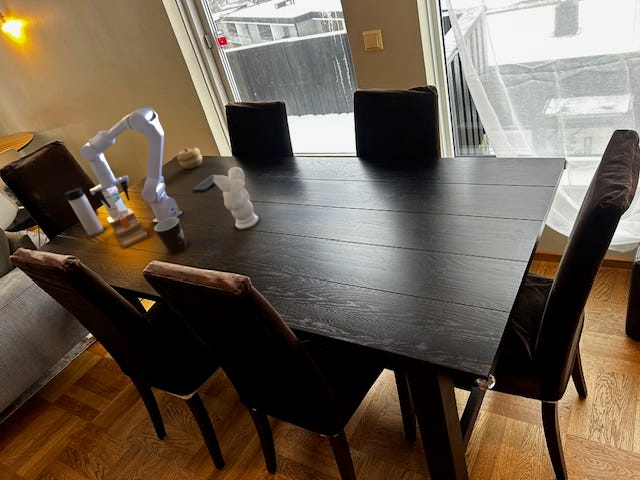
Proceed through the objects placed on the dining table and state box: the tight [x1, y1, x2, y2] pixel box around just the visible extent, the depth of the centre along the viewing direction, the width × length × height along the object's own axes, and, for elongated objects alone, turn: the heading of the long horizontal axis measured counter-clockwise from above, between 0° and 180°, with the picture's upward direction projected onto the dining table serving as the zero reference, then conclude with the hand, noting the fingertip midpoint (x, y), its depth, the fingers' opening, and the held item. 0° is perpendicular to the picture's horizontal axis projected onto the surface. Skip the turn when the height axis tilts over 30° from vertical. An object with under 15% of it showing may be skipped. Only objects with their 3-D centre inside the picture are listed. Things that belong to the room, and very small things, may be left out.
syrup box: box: [100, 185, 129, 217], centre depth 191 cm, size 6×6×14 cm
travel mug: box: [64, 187, 105, 237], centre depth 181 cm, size 6×7×20 cm
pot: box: [176, 147, 203, 170], centre depth 225 cm, size 12×12×10 cm
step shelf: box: [106, 207, 149, 249], centre depth 175 cm, size 20×10×6 cm, turn 34°
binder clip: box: [118, 213, 130, 229], centre depth 173 cm, size 4×2×5 cm, turn 34°
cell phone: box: [193, 174, 221, 191], centre depth 203 cm, size 7×14×1 cm, turn 150°
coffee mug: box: [153, 217, 188, 255], centre depth 156 cm, size 12×9×10 cm
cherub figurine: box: [213, 166, 259, 230], centre depth 155 cm, size 12×12×22 cm
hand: (119, 203), depth 180 cm, fingers open, 7 cm apart
